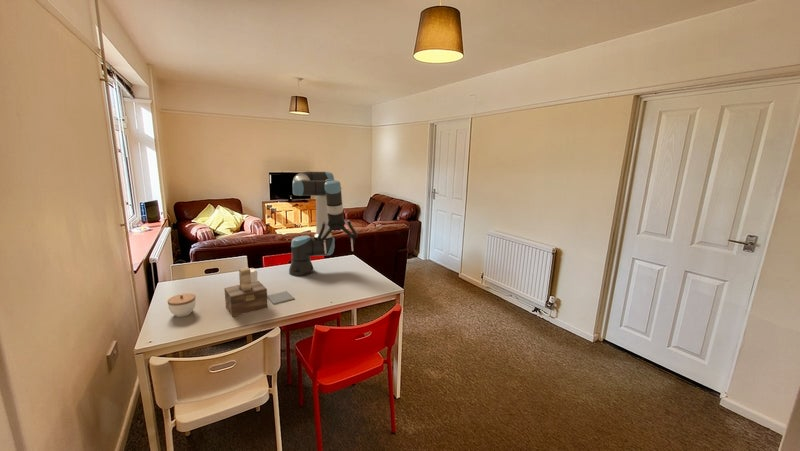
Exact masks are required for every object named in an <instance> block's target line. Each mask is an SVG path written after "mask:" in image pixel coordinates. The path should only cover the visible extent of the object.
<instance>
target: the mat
mask: <svg viewBox="0 0 800 451" xmlns="http://www.w3.org/2000/svg"><path fill="white" fill-rule="evenodd" d="M267 300H269V301H270V303H271V304H272V305H279V304H281V303H286V302H288V301H293V300H295V297H294V296H293V295H292V294H291V293H289V292H288V291H287V290H286V291H282V292H281V291H280V292H278V293H272V294H269V295H268V294H267Z"/></svg>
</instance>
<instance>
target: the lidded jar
mask: <svg viewBox="0 0 800 451" xmlns="http://www.w3.org/2000/svg"><path fill="white" fill-rule="evenodd" d="M196 299H197V298H196V295H195V294H193V293H181V294H177V295H173V296H171V297H170V298H168V299H167V305H168V310H169V311H170V313H171V314H172V315H174V316H175V317H177V318H181V317H186V316H190V314H192V312H193V311H194V309H195V307H196V302H197V301H196Z"/></svg>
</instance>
